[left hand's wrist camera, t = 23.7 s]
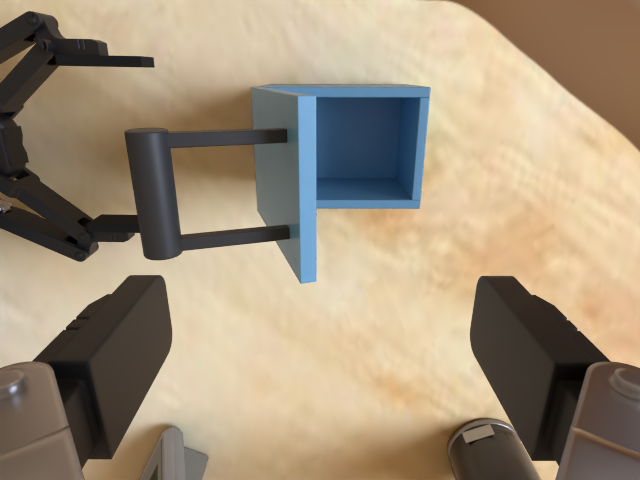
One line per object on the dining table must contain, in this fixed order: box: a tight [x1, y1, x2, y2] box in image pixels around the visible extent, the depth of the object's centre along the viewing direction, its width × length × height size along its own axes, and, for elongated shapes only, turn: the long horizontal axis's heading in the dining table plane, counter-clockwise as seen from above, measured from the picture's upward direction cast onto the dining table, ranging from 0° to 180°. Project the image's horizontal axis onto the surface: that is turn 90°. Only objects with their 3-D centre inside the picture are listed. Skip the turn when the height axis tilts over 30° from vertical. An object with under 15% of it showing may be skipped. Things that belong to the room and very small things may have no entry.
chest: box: [261, 84, 431, 209], centre depth 38 cm, size 13×10×9 cm
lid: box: [124, 87, 316, 283], centre depth 26 cm, size 14×10×9 cm
